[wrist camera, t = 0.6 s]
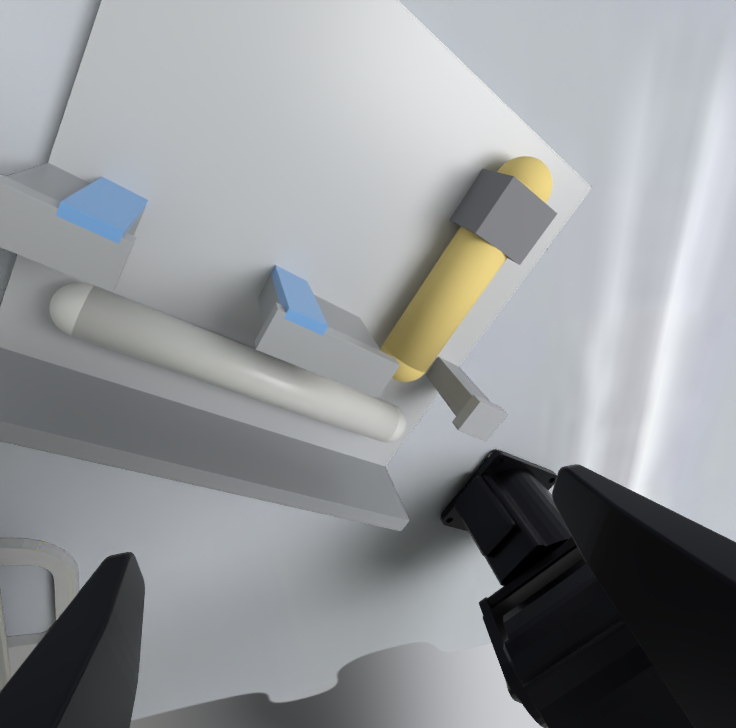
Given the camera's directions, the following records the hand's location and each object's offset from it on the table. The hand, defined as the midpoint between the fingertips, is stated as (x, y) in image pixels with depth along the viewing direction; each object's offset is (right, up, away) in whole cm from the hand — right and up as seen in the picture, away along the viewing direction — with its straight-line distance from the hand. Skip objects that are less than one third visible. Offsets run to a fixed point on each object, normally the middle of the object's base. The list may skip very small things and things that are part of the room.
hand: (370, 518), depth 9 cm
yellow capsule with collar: (+4, +8, +11) cm, 14 cm away
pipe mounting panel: (-2, +8, +10) cm, 13 cm away
